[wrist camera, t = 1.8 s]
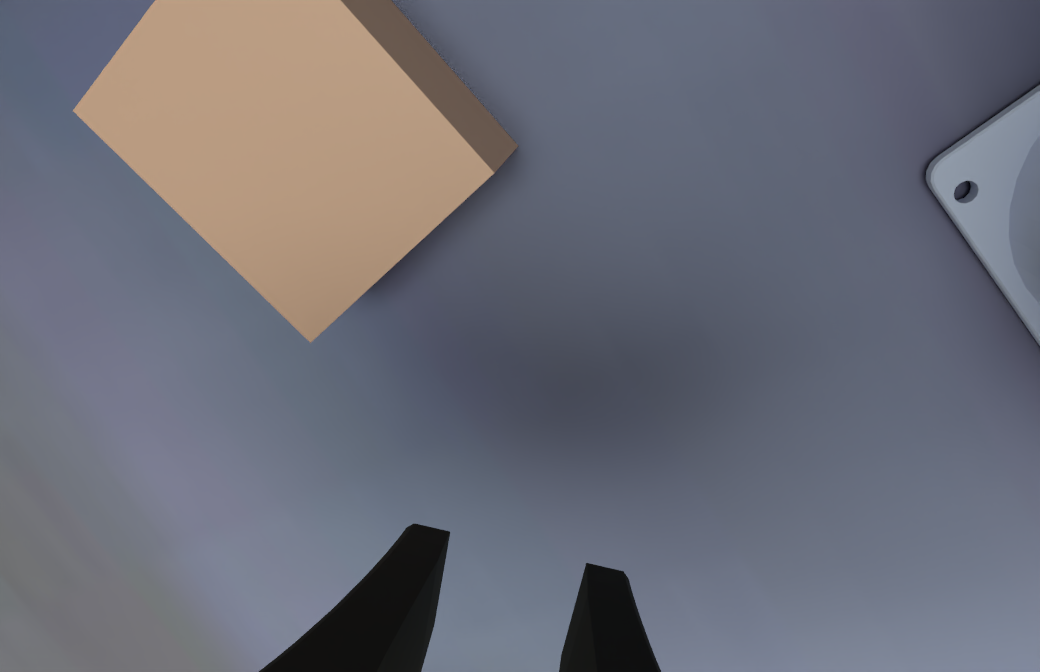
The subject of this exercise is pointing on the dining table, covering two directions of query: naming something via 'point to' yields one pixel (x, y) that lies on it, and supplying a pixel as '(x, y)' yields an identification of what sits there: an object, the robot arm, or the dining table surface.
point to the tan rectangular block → (296, 138)
